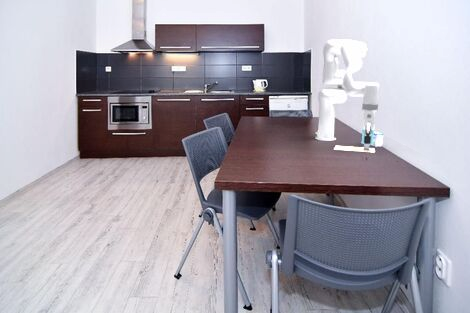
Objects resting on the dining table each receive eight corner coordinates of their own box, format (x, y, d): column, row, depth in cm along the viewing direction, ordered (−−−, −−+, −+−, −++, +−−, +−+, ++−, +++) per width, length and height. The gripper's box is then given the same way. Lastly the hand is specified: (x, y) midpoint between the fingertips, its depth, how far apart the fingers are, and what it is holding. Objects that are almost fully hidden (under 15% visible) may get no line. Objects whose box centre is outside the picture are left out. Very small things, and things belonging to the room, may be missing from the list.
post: (363, 149, 196) (364, 136, 194) (363, 148, 198) (364, 136, 197) (369, 150, 195) (370, 137, 193) (369, 149, 198) (370, 136, 196)
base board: (333, 152, 197) (333, 149, 196) (335, 148, 208) (335, 145, 207) (374, 155, 190) (374, 152, 190) (374, 150, 201) (374, 148, 201)
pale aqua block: (361, 143, 194) (362, 131, 193) (361, 142, 199) (362, 129, 198) (372, 144, 192) (373, 131, 191) (372, 142, 197) (373, 130, 196)
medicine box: (365, 146, 213) (367, 131, 211) (372, 146, 214) (373, 131, 213) (375, 149, 206) (377, 133, 204) (382, 148, 207) (383, 133, 205)
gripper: (378, 109, 183) (375, 146, 187) (377, 106, 199) (374, 140, 202) (361, 108, 185) (359, 145, 189) (362, 106, 201) (359, 139, 205)
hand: (367, 142), depth 196 cm, fingers closed on pale aqua block, 5 cm apart
